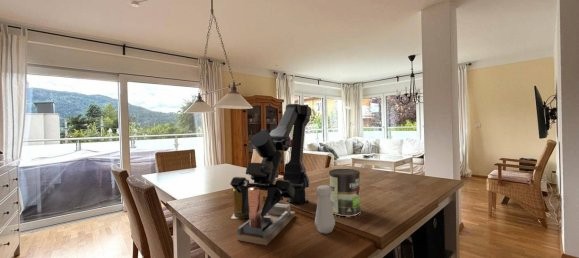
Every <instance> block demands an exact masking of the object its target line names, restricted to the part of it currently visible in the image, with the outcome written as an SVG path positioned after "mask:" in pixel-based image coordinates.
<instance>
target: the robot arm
mask: <svg viewBox="0 0 579 258" xmlns="http://www.w3.org/2000/svg"><path fill="white" fill-rule="evenodd" d="M311 116H312V108H311V107H310V106H309V105H308V104H298V103H288V104H286V105H285V111H284V112H283V115H282V116H281V119H280V120H279V123H278V125H277V127H275V128H274V129H272V130H271V131H270V130H268V129H265V128H264V129H261V130H260V131H259V132H257V133H256V134H254V135H253V136H252V137H251V139H250V143H251V145H252V147H253V148H254V149H255V151H256V153H257V155H258V156H259V157H260V158H262V160H261V161H260V162H247V165H246V169H245V174H246V175H248V176H250V179H251V181H253V182H250V181H249V182H248V181H247V180H248V179H247V178H246V177H243V176H234V177H232V179H231V181H230V182H229V185H230V186H231V187H232V188H233V189H235V190H236V192H237V193H239V194H242V214H243V215H244V214H245V213H246V211H247V209H248V207H249V201H248V188H250V187H259V188H260V191H267V195H266V198H265V201H264V203H263V206H262V208H261V210H262V212H261V216H262V217H264V216H265V215H266V214H267V213H268V212H269V211H270V209H271V208H272V207H273V206H274V205H275V204H277V203H279V202H280V201H283V200H284V199H286V201H287V202H288V201H290V202H292V203H294V204H298V205H300V203H302V204H304V202H305V203H308V201H309V200H308V199H306V188H309V187H310V178H309V177H308V174H307V173H306V171H307V170H306V167H305V164H304V162H303V157H304V145H305V144H304V143H305V134H306V133H305V131H306V126H307V125H308V124H309V122H310V120H311ZM269 131H270V132H269ZM291 132H292V139H291V136H290V134H291ZM289 149H290V156H289V157H290V159H289V161H288V162H287V163H285V164H284V171H283V175H282V178H283V179H278V178H279V176H280V175H279V174H278V172H279V168H280V166H281V164H283V163H284V157H283V154H282V153H281V152H287V151H288V150H289ZM276 179H277V180H276ZM290 202H289V203H290ZM292 203H291V204H292ZM294 204H293V205H294Z"/></svg>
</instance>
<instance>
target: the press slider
mask: <svg viewBox="0 0 579 258" xmlns="http://www.w3.org/2000/svg"><path fill="white" fill-rule="evenodd" d="M248 201H249V218H248V220H249V222H248V223H246V224H245V225H244V226H243V233H246V234H252V235H258V236H263V231H265V230H266V229H267V228H268V227H269V226H270V225H271V224H273V222H272V217H270V216H264V217H262V216H261V210H262V208H261V190H260V188H259V187H250V188H248Z"/></svg>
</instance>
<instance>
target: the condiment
mask: <svg viewBox="0 0 579 258" xmlns="http://www.w3.org/2000/svg"><path fill="white" fill-rule="evenodd" d="M247 181H248V182H250V179H247ZM232 195H233V196H232V197H233V198H232V199H233V200H232V201H233V214H232V215H231V217H230V219H232V220H233V219H245V218H246V219H249V207H248V209H247V211H246V213H245V214H244V215H243V214H242V194H239V193H237V192H236V190H235V189H234V188H233V189H232Z"/></svg>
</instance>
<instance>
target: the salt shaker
mask: <svg viewBox="0 0 579 258" xmlns="http://www.w3.org/2000/svg"><path fill="white" fill-rule="evenodd" d="M331 193H332V189H331V187H330V185H328V184H327V185H326V184H324V185H323V184H322V185H318V186H317V187H316V195H318V199H317V203H316V211H315V218H314V225H315V227H316V229H317V231H318V232H319V233H320V234H330V233H332V232H333V230H334V227H335V225H336V219H335V215H333V210H332V206H331V201H330V195H331Z"/></svg>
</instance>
